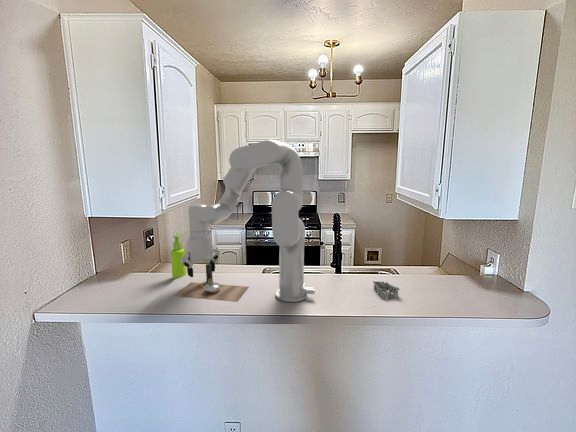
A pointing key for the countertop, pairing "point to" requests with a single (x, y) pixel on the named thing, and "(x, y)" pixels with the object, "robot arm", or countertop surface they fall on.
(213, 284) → the ice cream scoop
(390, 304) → the countertop surface
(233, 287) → the brown flat rectangular board
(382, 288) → the rough grey rock
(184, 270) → the soap dispenser
